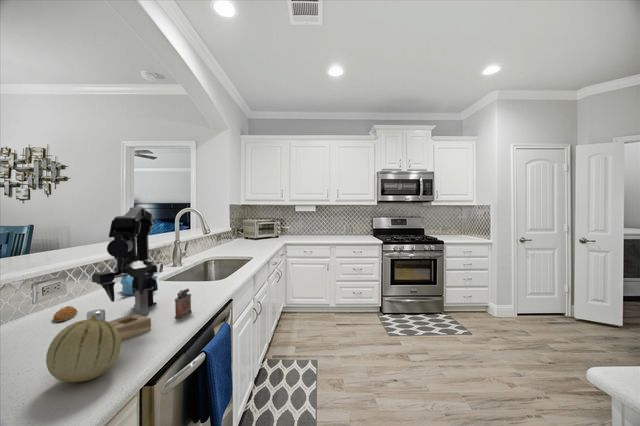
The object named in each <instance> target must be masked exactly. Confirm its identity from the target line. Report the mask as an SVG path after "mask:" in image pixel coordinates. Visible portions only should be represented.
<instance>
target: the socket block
mask: <svg viewBox="0 0 640 426" xmlns="http://www.w3.org/2000/svg"><path fill="white" fill-rule="evenodd" d="M108 322H109V323H111V324H113V325H114V326H115V327H116V328H117V330H118V332H119V334H120V337H121V342H122V341H124V340H126V339H127V340H128V339H129V338H131V337H135V336H138V335H140V334H142V333H145V332H147V331H150V330H152V319H151V318H150V317H147V316H141V315H138V314H135V313H132V314H129V315H125V316H123V317H122V316H121V317H119V318H116V319H112V320H109V321H108Z"/></svg>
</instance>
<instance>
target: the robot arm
mask: <svg viewBox="0 0 640 426" xmlns="http://www.w3.org/2000/svg"><path fill="white" fill-rule="evenodd" d="M154 224H155V223H154V218H153V214H152V213H151V212H150V211H148V210H146V207H143V206H132V207H130V208H129V210H128V211H127V212H126V213H125V214H124V215H117V216H115V217H114V218H113V219H112V220H111V224H110V229H109V233H108V238H113V239H112V240H110V241H109V243H108V244H107V247H106V251H107V253H108V254H109V255H110V256H111V257H113V258H114V260H116V267H114V272H111V271H100V272H95V273H93V274H92V276H91V283H94V284H97V285H100V286H101V287H102V288H103V290H104V292H105V293H106V295H107V297H108V298H109V300H110V301H111V302H112V303H114V302H115V285H116V281H114V280H115V279H117V278H122V277H123V276H128V275H130V276H131V277H134V278H133V280H132V289H133V294H134V293H135V291H138V290H139V294H143V291H144V289H145V290H148V307H150V306H155V305H157V304H158V303H157V302H156V301H154V292H156V291H158V290H159V288H158V280H156V279H155V278H154V276H155V274H157V273H158V266H157V265H156V264H152V263H153V262H152V260H151V259H150V248H149V234H150V233H151V232H152V230H153V226H154ZM152 287H153V288H152ZM133 306H134V307H135V304H134V305H133Z"/></svg>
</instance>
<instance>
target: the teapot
mask: <svg viewBox="0 0 640 426" xmlns="http://www.w3.org/2000/svg"><path fill="white" fill-rule="evenodd" d="M120 278H121V279H120V282H119V283H120V284H121V285H122V287H121V291H122V293H123V294H125V295H127V296H135V293H134V294H133V289H132V280H133V278H134V277H131V276H130V275H128V276H123V277H120ZM154 278H155V279H156V281H158V280H157V279H158V278H159V277H158V275H154ZM152 288H153V287H152Z"/></svg>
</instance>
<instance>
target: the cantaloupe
mask: <svg viewBox="0 0 640 426" xmlns="http://www.w3.org/2000/svg"><path fill="white" fill-rule="evenodd" d="M91 318H92V319H90V320H87V319H83V320H77V321H75V322H73V323H71V324H69V325H67V326H66V327H64V328H62V330H60V331H59V332H58V333H57V334H56V335H55V336H54V337H53V339H52V340H51V342H50V344H49V347H48V349H47V351H46V358H45V364H46V368H47V371H48V372H49V374H50V375H51V376H52V377H53V378H55V379H56V380H57V381H59V382H62V383H63V382H65V383H80V382H87V381H90V380H94V379H96V378H98V377H100V376H101V375H103V374H104V373H105V372H107V371H108V370H109V369H110V368H112V366H113V364H114V363H115V362H116V360H117V359H118V356H119V354H120V352H121V346H122V341H121V337H120V334H119V332H118V330H117V328H116V327H115V326H114V325H113V324H111V323H109V321H107V320H106V319H105V320H98V319H96V316H94V315H92V317H91Z"/></svg>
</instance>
